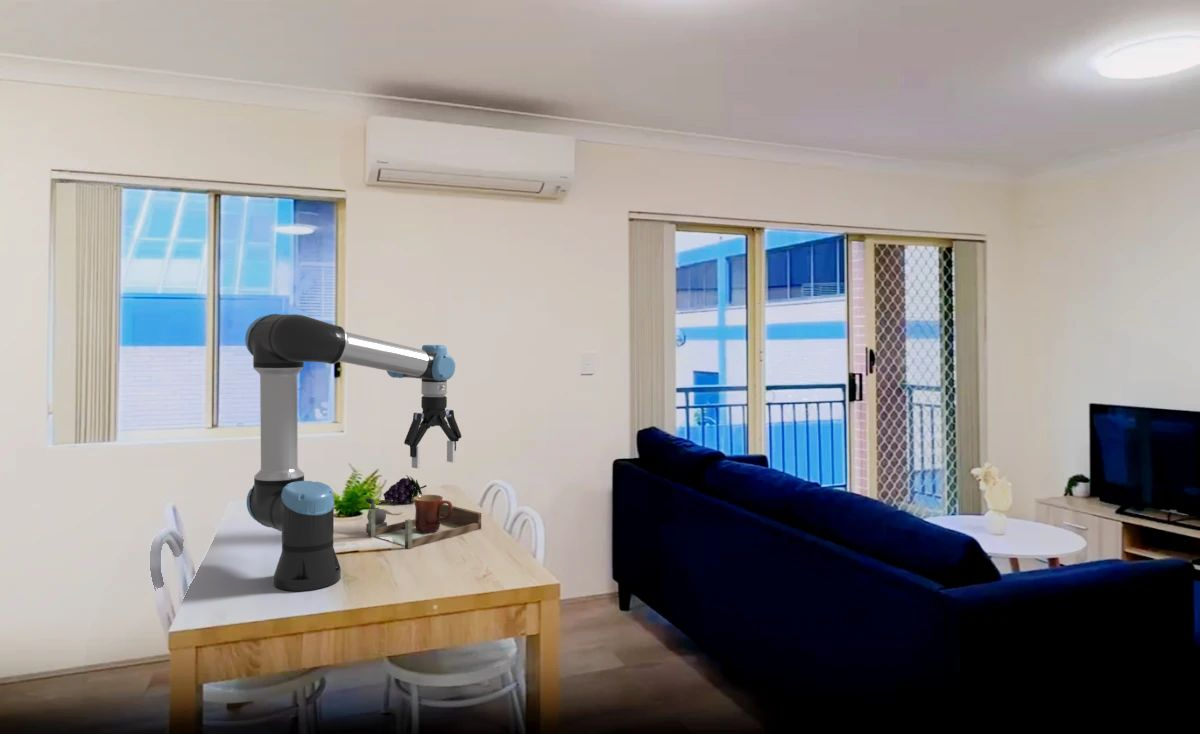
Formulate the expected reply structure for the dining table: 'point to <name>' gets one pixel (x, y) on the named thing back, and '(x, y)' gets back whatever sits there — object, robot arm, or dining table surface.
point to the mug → (429, 512)
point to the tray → (409, 538)
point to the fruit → (403, 491)
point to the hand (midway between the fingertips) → (433, 464)
